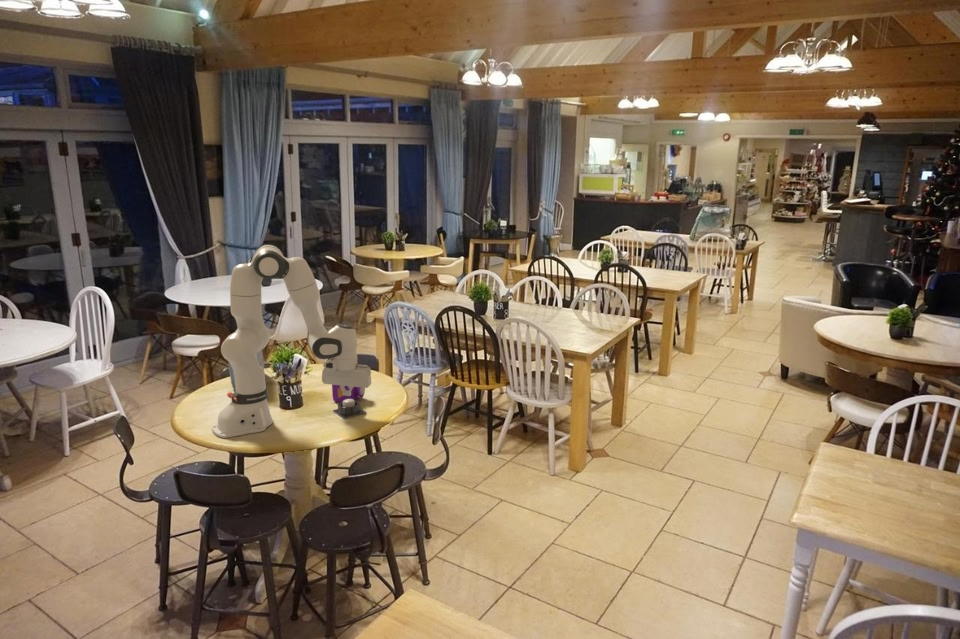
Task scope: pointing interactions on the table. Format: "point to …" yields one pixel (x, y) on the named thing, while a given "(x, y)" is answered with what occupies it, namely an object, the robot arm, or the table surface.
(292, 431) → the table surface
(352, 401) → the cap
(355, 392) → the toy camera
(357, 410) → the grey flanged ring
